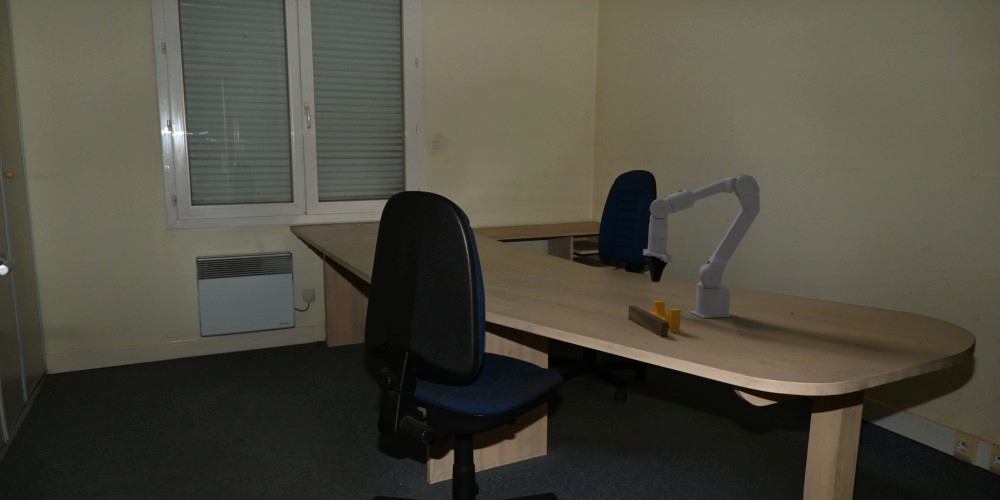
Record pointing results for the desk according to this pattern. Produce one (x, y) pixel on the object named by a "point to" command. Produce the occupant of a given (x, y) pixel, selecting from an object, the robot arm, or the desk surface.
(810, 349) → the desk surface
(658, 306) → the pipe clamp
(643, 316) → the rail
